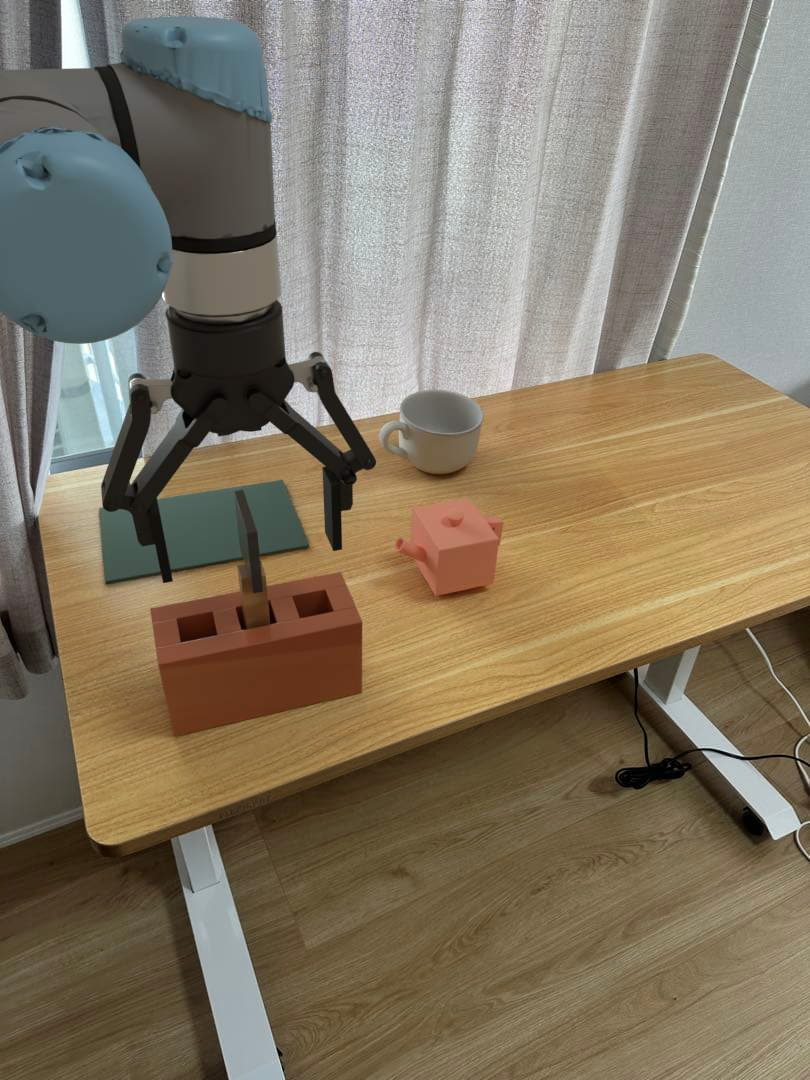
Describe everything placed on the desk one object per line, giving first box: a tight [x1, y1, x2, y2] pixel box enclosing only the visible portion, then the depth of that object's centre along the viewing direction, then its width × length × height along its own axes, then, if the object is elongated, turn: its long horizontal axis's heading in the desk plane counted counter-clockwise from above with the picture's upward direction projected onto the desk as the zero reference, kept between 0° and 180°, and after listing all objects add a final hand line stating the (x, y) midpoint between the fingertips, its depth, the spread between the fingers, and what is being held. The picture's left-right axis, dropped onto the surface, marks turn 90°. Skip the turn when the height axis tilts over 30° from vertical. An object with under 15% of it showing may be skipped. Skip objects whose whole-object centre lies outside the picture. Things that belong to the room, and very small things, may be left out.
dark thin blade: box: [234, 489, 270, 630], centre depth 68 cm, size 2×6×20 cm, turn 19°
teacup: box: [378, 389, 485, 475], centre depth 104 cm, size 14×11×8 cm
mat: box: [98, 479, 310, 585], centre depth 93 cm, size 22×14×1 cm, turn 109°
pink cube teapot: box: [393, 497, 505, 597], centre depth 86 cm, size 8×12×8 cm, turn 110°
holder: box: [149, 571, 363, 737], centre depth 72 cm, size 7×17×9 cm, turn 109°
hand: (252, 556), depth 65 cm, fingers open, 13 cm apart
